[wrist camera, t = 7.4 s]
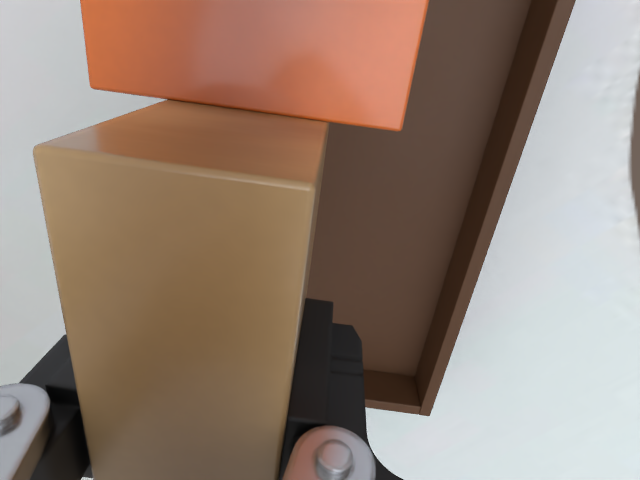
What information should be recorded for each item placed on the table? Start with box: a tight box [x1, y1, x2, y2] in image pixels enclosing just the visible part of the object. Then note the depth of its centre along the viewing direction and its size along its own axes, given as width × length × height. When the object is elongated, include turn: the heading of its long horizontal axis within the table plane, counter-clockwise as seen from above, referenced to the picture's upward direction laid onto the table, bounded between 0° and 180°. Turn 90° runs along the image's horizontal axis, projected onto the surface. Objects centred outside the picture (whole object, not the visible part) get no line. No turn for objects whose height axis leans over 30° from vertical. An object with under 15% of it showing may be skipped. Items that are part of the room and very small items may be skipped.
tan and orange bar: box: [33, 0, 429, 480], centre depth 8 cm, size 6×22×4 cm, turn 173°
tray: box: [306, 0, 576, 416], centre depth 24 cm, size 16×32×4 cm, turn 173°
